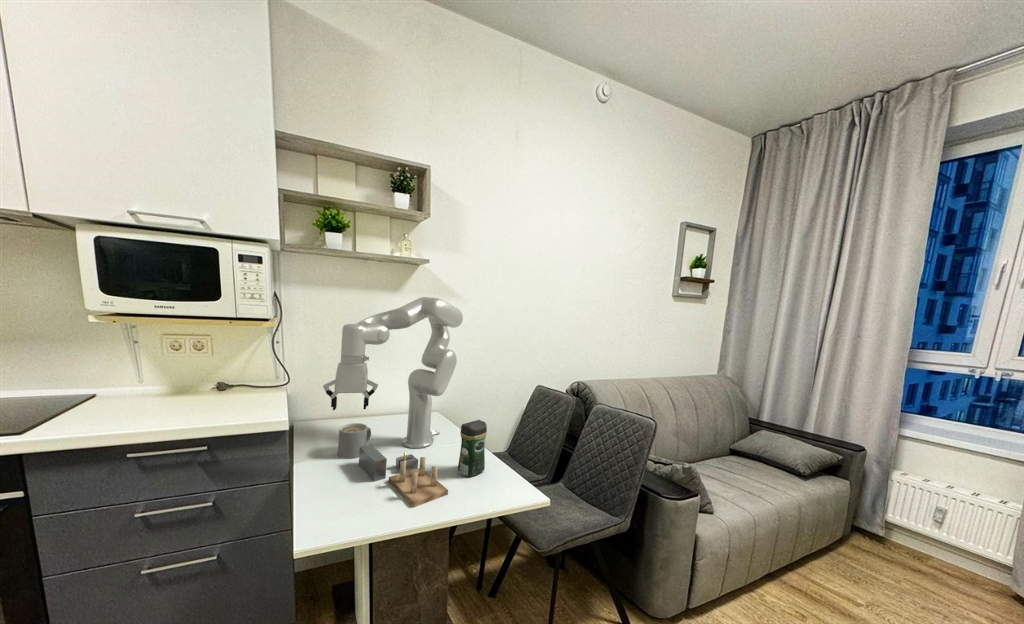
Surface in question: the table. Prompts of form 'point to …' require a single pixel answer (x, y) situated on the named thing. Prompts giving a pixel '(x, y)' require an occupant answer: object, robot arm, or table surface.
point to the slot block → (407, 462)
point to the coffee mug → (352, 439)
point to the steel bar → (372, 462)
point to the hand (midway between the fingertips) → (349, 408)
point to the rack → (418, 484)
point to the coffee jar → (472, 448)
